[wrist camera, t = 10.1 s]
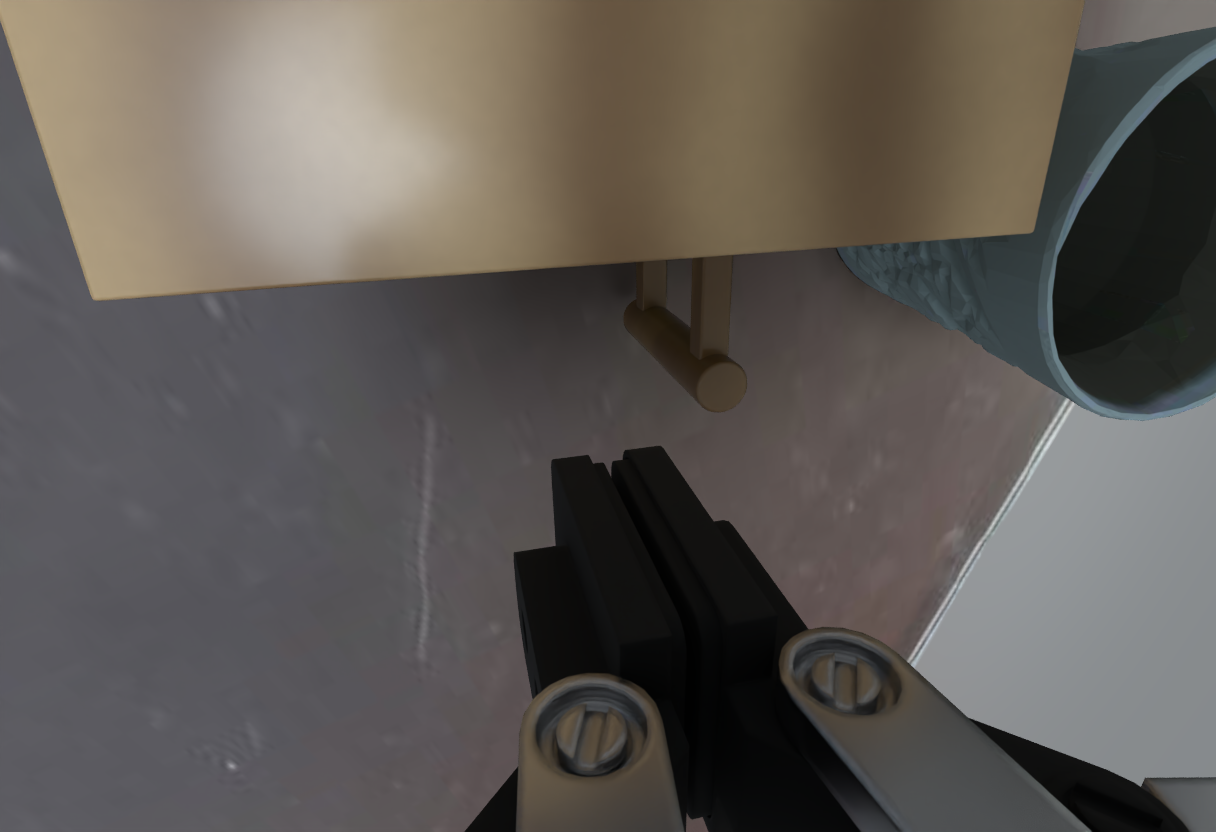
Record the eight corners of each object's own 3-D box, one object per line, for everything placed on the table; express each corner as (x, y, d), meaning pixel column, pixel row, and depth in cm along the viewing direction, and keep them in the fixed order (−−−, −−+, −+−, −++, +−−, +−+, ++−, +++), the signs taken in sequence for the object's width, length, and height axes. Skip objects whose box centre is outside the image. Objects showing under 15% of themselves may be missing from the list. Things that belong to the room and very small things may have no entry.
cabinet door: (769, 163, 24) (953, 186, 16) (759, 311, 26) (916, 400, 18) (533, 173, 22) (600, 205, 14) (543, 331, 25) (607, 440, 16)
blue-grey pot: (1046, 48, 27) (1455, 3, 16) (1004, 299, 31) (1307, 394, 21) (812, 66, 25) (1104, 27, 14) (800, 331, 29) (1019, 453, 19)
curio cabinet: (788, -174, 22) (1199, -500, 10) (763, 210, 27) (1024, 279, 15) (167, -220, 18) (-280, -819, 7) (266, 239, 23) (110, 362, 11)
